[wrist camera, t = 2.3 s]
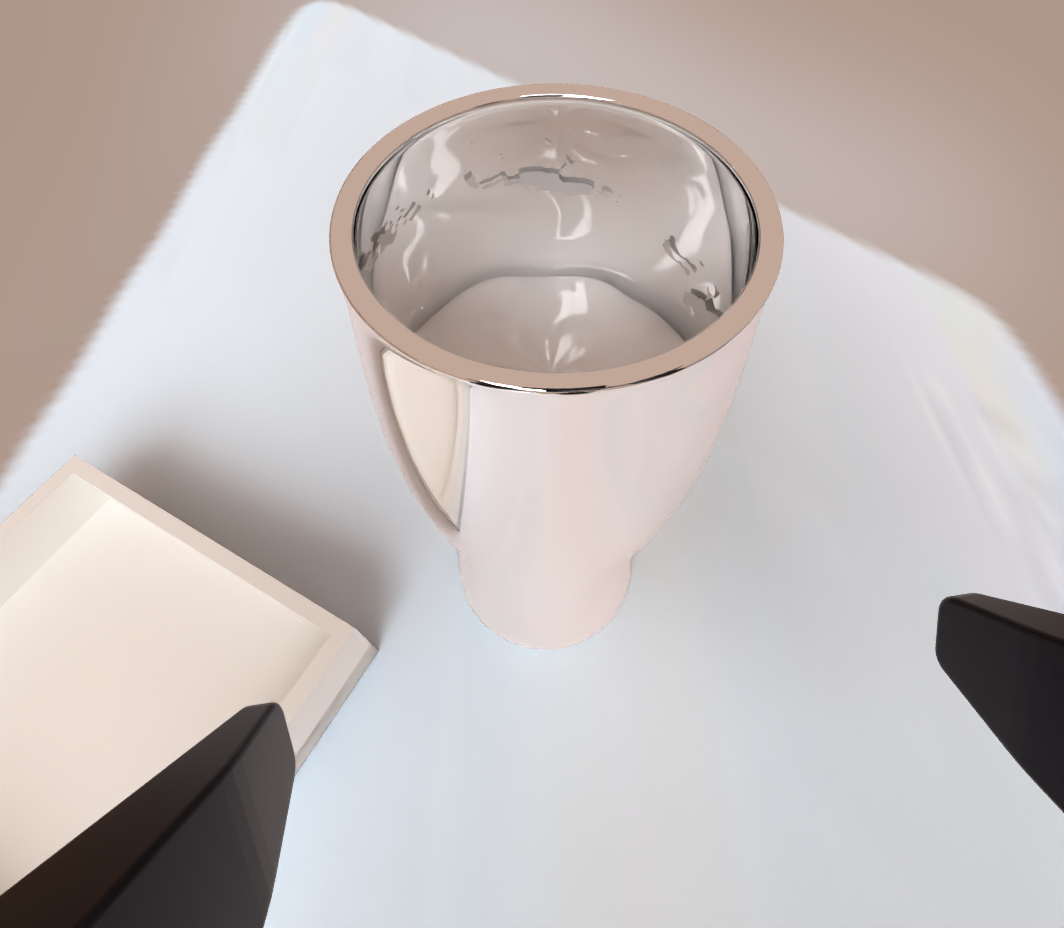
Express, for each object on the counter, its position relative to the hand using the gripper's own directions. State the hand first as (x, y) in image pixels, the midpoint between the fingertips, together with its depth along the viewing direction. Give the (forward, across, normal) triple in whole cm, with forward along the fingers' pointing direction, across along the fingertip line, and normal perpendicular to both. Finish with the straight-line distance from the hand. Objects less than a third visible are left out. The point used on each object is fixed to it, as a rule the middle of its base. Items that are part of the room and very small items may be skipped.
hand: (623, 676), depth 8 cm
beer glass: (+13, 0, +5) cm, 14 cm away
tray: (+11, +14, +7) cm, 19 cm away
